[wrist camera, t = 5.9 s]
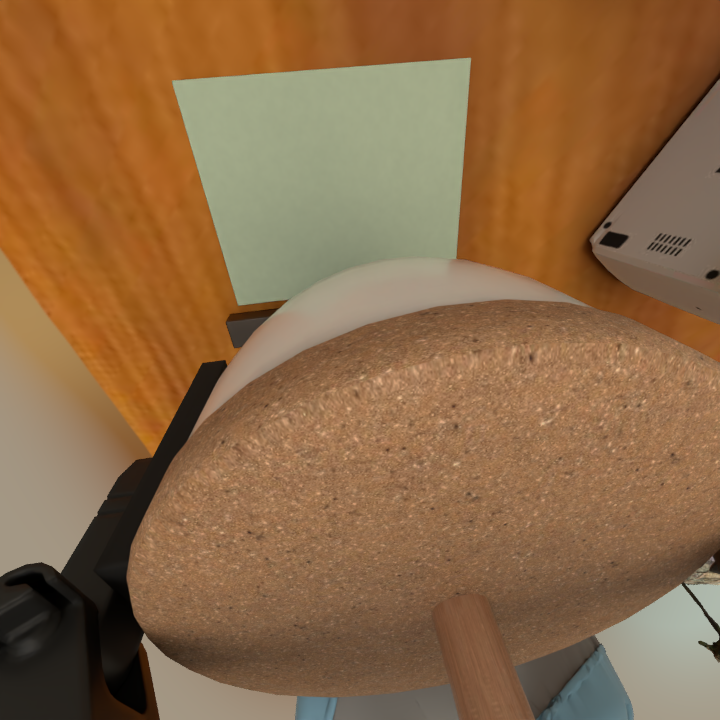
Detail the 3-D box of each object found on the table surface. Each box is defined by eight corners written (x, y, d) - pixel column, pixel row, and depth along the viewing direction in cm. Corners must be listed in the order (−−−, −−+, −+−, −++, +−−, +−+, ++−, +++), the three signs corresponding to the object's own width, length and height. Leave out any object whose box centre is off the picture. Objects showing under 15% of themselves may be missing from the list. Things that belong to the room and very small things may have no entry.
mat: (452, 278, 28) (454, 279, 27) (239, 303, 27) (238, 306, 26) (468, 59, 20) (471, 57, 20) (174, 82, 19) (171, 80, 19)
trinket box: (502, 438, 15) (701, 732, 8) (279, 481, 15) (243, 836, 7) (539, 185, 10) (1541, 314, 2) (178, 246, 9) (-548, 739, 1)
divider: (460, 311, 30) (468, 318, 28) (237, 339, 28) (233, 348, 27) (463, 285, 28) (470, 291, 27) (229, 314, 27) (225, 322, 26)
